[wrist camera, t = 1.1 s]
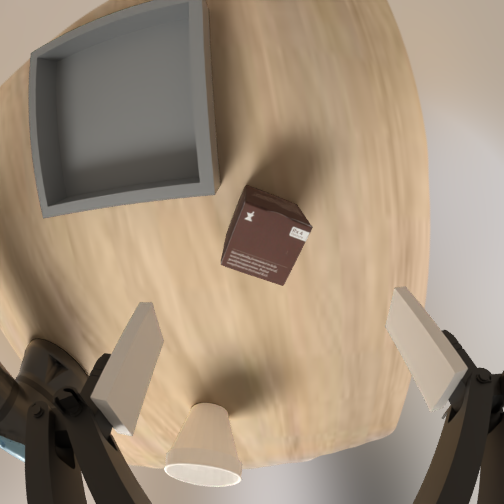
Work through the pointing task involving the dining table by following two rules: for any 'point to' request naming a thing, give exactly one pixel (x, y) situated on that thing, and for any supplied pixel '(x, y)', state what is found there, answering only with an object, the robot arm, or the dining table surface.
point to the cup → (205, 449)
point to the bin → (125, 110)
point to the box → (265, 236)
